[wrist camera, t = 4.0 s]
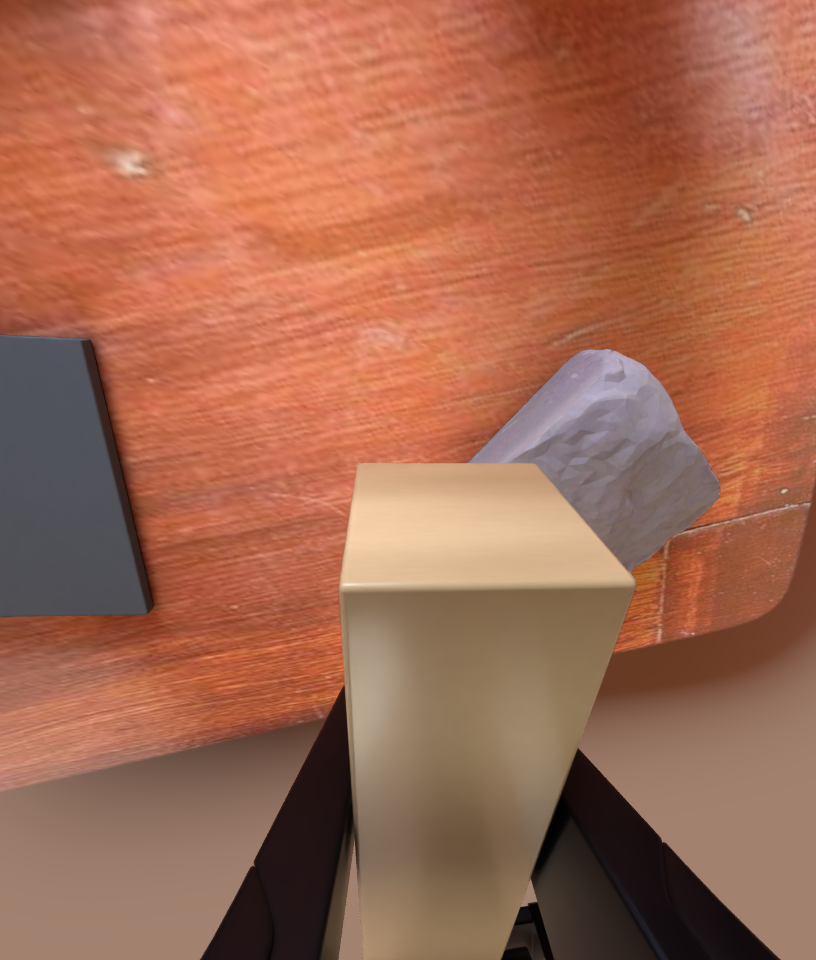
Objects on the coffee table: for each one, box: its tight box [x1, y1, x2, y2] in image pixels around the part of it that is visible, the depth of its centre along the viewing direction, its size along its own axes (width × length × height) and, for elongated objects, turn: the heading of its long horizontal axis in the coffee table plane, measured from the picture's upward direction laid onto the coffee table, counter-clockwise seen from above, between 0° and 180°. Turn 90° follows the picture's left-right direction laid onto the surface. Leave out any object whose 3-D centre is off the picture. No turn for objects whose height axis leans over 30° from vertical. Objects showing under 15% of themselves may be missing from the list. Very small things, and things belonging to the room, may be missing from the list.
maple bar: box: [338, 463, 636, 960], centre depth 8 cm, size 11×3×3 cm, turn 179°
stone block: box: [468, 349, 721, 573], centre depth 18 cm, size 12×5×10 cm
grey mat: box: [0, 335, 153, 617], centre depth 17 cm, size 13×10×1 cm
